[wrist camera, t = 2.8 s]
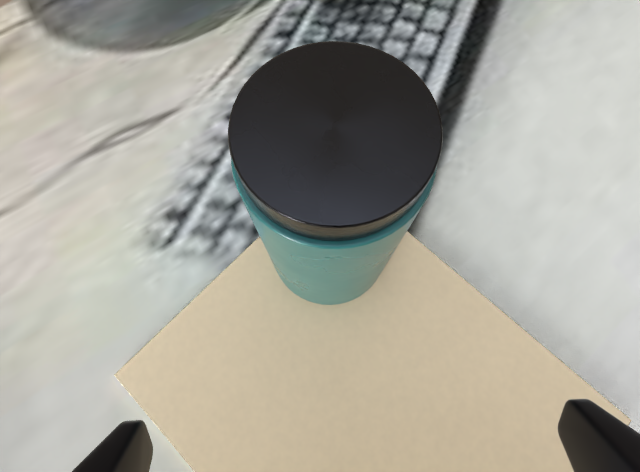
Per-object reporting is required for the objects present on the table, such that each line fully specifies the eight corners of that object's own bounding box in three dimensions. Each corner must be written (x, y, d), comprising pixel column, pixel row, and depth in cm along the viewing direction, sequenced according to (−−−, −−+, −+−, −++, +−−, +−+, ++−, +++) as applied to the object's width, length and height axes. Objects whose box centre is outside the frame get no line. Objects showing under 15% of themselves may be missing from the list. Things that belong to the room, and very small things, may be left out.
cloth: (627, 419, 21) (631, 420, 20) (419, 737, 17) (421, 743, 17) (331, 169, 25) (331, 167, 25) (116, 375, 21) (113, 375, 21)
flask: (408, 246, 23) (497, 121, 11) (331, 330, 22) (341, 286, 10) (326, 176, 25) (329, 1, 13) (249, 250, 23) (172, 129, 11)
